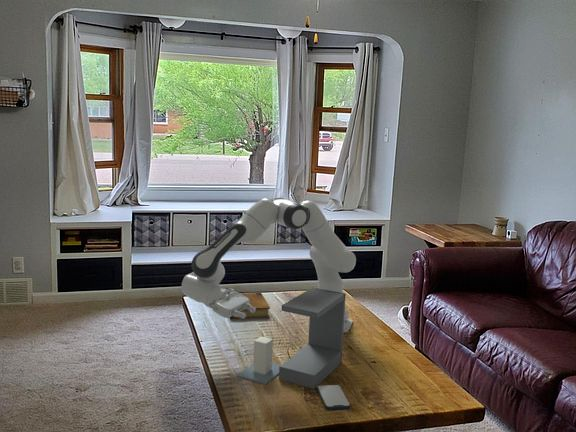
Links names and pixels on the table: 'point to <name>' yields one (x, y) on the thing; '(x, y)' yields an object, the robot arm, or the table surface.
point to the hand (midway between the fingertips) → (250, 313)
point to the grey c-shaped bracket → (316, 337)
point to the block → (263, 355)
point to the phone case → (333, 397)
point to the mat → (259, 377)
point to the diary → (255, 306)
